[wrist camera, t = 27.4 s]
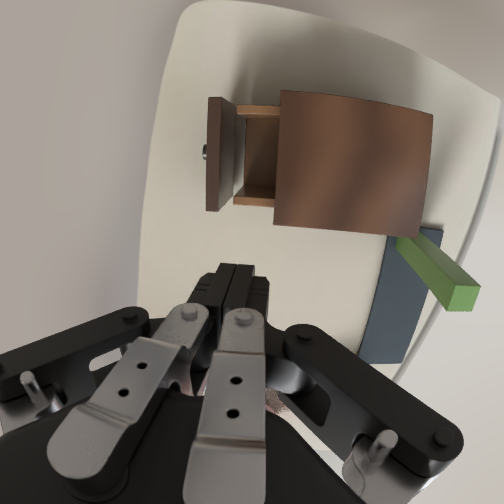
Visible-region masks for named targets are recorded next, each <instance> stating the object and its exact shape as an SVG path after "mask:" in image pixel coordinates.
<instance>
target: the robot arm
mask: <svg viewBox="0 0 504 504" xmlns="http://www.w3.org/2000/svg"><path fill="white" fill-rule="evenodd" d="M269 285H270V283H269V281H268V280H267V278H266V277H260V276H255V265H244V264H238V265H237V264H229V263H220V265H219V267H218V269H217V271H216V273H207V274H205V275H204V276H202V277H201V278H200V279H199V281H198V283H197V285H196V286H195V288H194V290H193V292H192V294H191V295H190V297H189V299H188V301H187V303H184V304H180V305H178V306H176V307H174V308H173V309H172V310H171V312H170V313H169V314H168V316H167V317H166V318H156V319H149V314H148V312H147V311H146V310H145V309H143V308H141V307H126V308H122V309H120V310H117V311H115V312H112V313H109V314H107V315H104V316H101V317H99V318H97V319H94V320H91V321H88V322H86V323H83V324H80V325H78V326H75V327H72V328H70V329H67V330H65V331H62V332H59V333H57V334H54V335H51V336H48V337H46V338H43V339H40V340H38V341H35V342H32V343H30V344H27V345H25V346H22V347H19V348H17V349H14V350H11V351H8V352H6V353H3V354H1V355H0V421H1V426H2V430H3V434H4V435H2V436H1V437H0V504H407V503H408V502H409V501H410V500H411V499H412V498H413V497H415V496H416V495H417V494H418V493H419V492H421V490H423V489H424V488H425V487H426V486H427V485H428V484H429V483H431V482H432V481H433V480H434V479H435V478H436V477H437V476H438V475H439V474H440V473H441V472H442V471H443V470H444V469H445V468H446V467H447V466H448V465H449V464H450V463H451V462H452V461H453V460H454V459H455V458H456V457H457V456H458V455H459V454H460V452H461V451H462V449H463V445H464V439H463V435H462V433H461V431H460V430H459V428H458V427H457V426H456V425H454V424H453V423H452V422H450V421H449V420H447V419H446V418H444V417H443V416H441V415H440V414H438V413H437V412H436V411H434V410H433V409H431V408H430V407H428V406H427V405H425V404H424V403H423V402H421V401H420V400H418V399H417V398H416V397H414V396H413V395H411V394H410V393H408V392H407V391H406V390H404V389H403V388H401V387H400V386H398V385H397V384H396V383H394V382H393V381H391V380H390V379H389V378H387V377H386V376H384V375H383V374H382V373H380V372H379V371H377V370H376V369H375V368H373V367H372V366H370V365H369V364H368V363H366V362H365V361H364V360H362V359H361V358H359V357H358V356H357V355H355V354H354V353H352V352H351V351H350V350H348V349H347V348H346V347H344V346H343V345H342V344H340V343H339V342H337V341H336V340H335V339H333V338H332V337H331V336H329V335H328V334H326V333H325V332H324V331H322V330H321V329H320V328H318V327H316V326H313V325H309V324H296V325H293V326H290V327H289V328H287V329H286V330H285V331H282V330H278V329H276V328H274V327H272V326H271V325H270V324H269V323H268V322H267V315H268V302H269ZM117 348H120V351H121V354H122V357H121V359H120V360H119V361H116V362H114V363H112V364H109V365H107V366H105V367H102V368H100V369H98V370H95V371H90V370H89V363H90V362H91V360H92V359H94V358H95V357H98V356H100V355H102V354H105V353H107V352H110V351H112V350H114V349H117ZM205 387H206V389H205ZM265 387H268V388H271V389H274V390H277V394H278V397H279V398H280V400H281V401H282V402H283V403H284V404H285V405H286V406H287V407H288V408H289V409H290V410H291V411H292V412H293V413H294V414H295V415H296V416H297V417H298V418H299V419H300V420H301V421H302V422H303V423H304V424H305V425H306V426H307V427H308V428H309V429H310V430H311V431H312V432H313V433H314V434H315V435H316V436H317V437H318V438H319V439H320V440H321V441H322V442H323V443H324V444H325V445H326V446H327V447H329V448H330V449H331V450H332V451H333V452H334V453H335V454H336V455H337V456H338V457H339V458H340V459H341V460H343V461H344V462H345V463H344V464H343V467H342V475H343V478H344V480H345V481H346V483H347V484H348V485H349V486H348V485H347V484H346V483H345V482H344V481H343V480H342V479H341V478H340V477H339V476H338V475H337V474H336V473H335V472H334V471H333V470H332V469H331V468H330V467H329V466H328V465H327V463H326V462H324V461H323V459H322V458H320V456H319V455H318V454H317V453H316V452H315V451H314V450H313V449H312V448H311V446H310V445H309V444H308V443H307V442H306V441H305V440H304V439H303V438H302V437H301V435H300V434H299V433H298V432H297V431H296V430H295V429H294V428H293V427H292V426H291V425H290V424H289V423H288V422H287V421H285V420H284V419H283V418H281V417H280V416H278V415H276V414H274V413H272V412H270V411H268V410H265ZM204 389H205V394H204V396H202V394H203V392H204Z"/></svg>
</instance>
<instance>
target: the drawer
mask: <svg viewBox="0 0 504 504" xmlns="http://www.w3.org/2000/svg"><path fill="white" fill-rule="evenodd" d="M237 114H239V115H241V116H243V117H245V118H246V137H245V161H244V185H243V187H242V188H241V189H240V190H239V191H238V192H237V193H236V194H235V196H234V199H233V204H234V205H245V206H260V207H274V205H275V189H276V173H277V155H278V137H279V117H280V106H265V105H237ZM235 123H236V106H235V105H234V104H232V103H230V102H229V101H227V100H226V99H224V98H222V97H209V98H208V119H207V144H205V145H204V147H203V159H204V160H206V211H211V212H218V211H219V210H220V209H221V208H222V207H223V206H224V205H225V204H226V203H227V201H228V200H229V199H230V198H231V197H232V196H233V178H234V148H235Z"/></svg>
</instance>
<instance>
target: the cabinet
mask: <svg viewBox="0 0 504 504" xmlns="http://www.w3.org/2000/svg"><path fill="white" fill-rule="evenodd" d="M432 129H433V115H432V114H429V113H425V112H421V111H417V110H413V109H409V108H404V107H400V106H395V105H390V104H386V103H380V102H375V101H370V100H364V99H358V98H352V97H345V96H337V95H330V94H321V93H312V92H301V91H288V90H281V96H280V117H279V137H278V155H277V173H276V189H275V205H274V221H273V225H280V226H292V227H304V228H316V229H327V230H338V231H349V232H359V233H369V234H379V235H388V236H398V237H407V238H416V239H417V238H418V233H419V228H420V223H421V218H422V212H423V207H424V201H425V194H426V187H427V180H428V172H429V164H430V154H431V143H432Z"/></svg>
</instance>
